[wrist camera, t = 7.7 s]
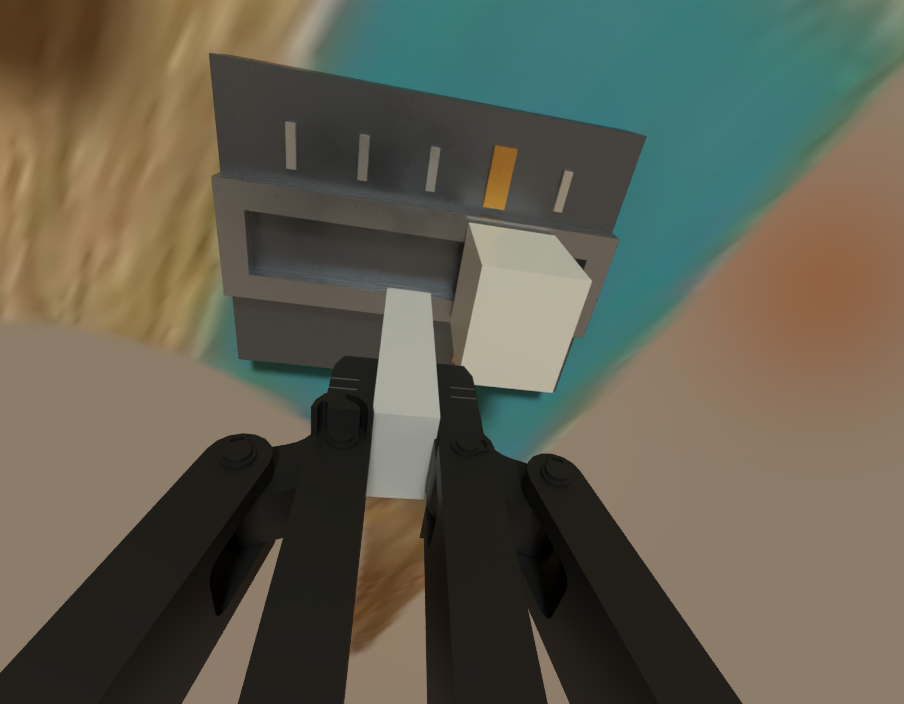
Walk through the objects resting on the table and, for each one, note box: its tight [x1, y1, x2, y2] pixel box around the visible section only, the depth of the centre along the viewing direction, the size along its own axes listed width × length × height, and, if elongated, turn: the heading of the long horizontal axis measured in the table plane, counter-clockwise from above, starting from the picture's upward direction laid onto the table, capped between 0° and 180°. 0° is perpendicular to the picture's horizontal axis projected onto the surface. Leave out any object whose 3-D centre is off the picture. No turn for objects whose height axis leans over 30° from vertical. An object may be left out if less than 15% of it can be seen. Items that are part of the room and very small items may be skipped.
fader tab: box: [450, 223, 592, 393], centre depth 20 cm, size 4×5×6 cm
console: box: [209, 53, 646, 391], centre depth 22 cm, size 18×14×3 cm
